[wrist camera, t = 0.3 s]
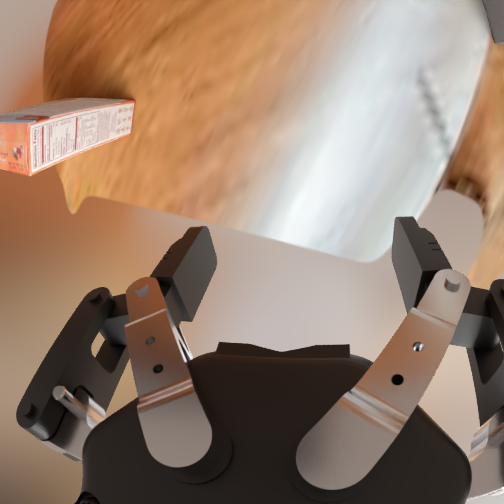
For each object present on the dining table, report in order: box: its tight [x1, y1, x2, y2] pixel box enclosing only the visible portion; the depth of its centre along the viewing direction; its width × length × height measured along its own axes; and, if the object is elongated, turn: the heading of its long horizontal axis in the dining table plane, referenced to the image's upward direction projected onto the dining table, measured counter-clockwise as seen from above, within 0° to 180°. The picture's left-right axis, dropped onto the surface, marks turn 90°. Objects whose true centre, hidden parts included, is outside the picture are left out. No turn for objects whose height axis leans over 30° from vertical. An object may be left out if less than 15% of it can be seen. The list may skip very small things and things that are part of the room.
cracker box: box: [0, 98, 135, 176], centre depth 28 cm, size 14×6×21 cm, turn 77°
